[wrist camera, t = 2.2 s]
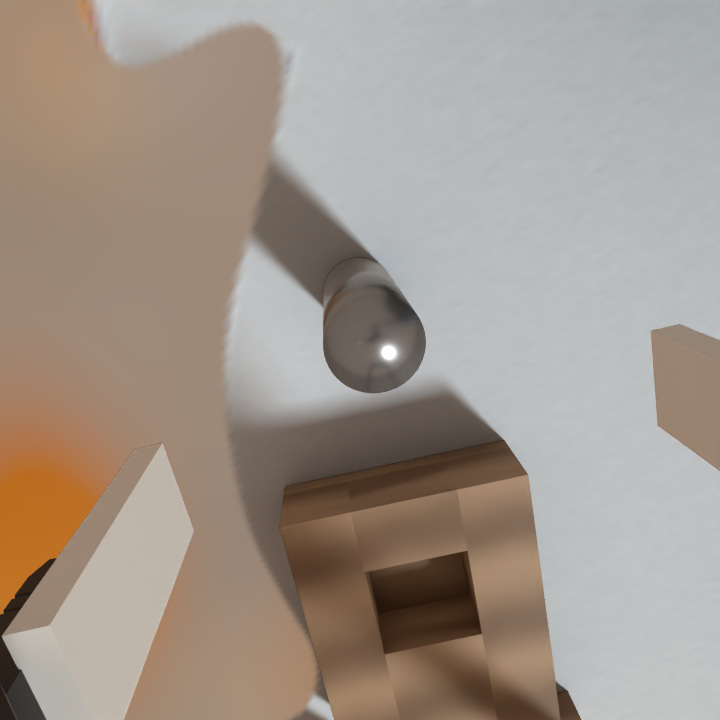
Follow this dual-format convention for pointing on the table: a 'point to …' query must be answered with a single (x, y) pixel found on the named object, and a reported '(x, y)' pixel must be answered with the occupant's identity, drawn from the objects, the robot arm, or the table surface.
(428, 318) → the table surface
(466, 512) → the socket stand
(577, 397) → the table surface
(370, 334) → the peg
